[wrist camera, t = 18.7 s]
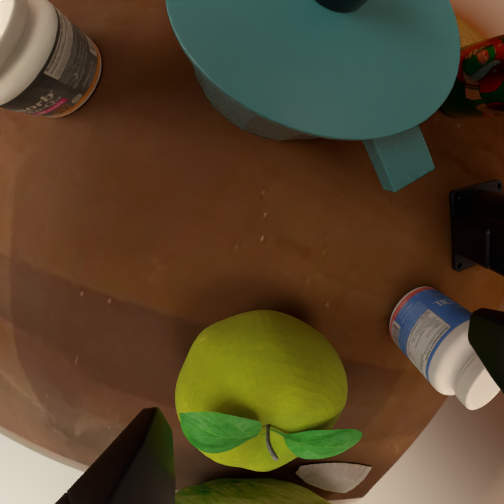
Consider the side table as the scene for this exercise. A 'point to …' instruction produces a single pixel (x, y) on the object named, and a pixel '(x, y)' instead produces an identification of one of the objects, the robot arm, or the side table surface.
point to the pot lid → (325, 60)
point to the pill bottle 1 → (44, 60)
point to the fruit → (263, 392)
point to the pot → (379, 150)
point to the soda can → (478, 81)
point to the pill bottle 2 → (441, 345)
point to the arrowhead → (333, 475)
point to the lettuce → (247, 492)
